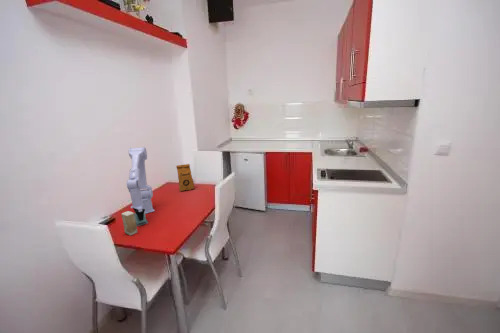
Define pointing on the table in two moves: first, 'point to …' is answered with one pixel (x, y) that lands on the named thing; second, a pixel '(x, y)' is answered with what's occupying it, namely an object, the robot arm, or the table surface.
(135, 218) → the teal block
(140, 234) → the table surface
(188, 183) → the coffee package
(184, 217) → the table surface
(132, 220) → the skincare box
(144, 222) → the mat
